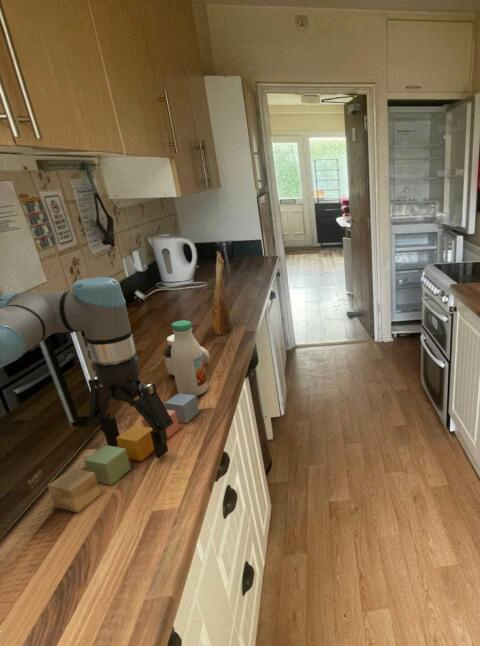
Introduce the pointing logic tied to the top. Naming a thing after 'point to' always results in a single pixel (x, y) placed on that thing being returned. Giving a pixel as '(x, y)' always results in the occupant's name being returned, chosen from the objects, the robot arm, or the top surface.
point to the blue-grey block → (183, 406)
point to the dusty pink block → (169, 430)
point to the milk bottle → (187, 360)
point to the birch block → (74, 490)
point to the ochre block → (136, 442)
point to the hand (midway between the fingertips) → (138, 449)
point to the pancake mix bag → (220, 301)
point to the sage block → (108, 464)
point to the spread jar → (168, 355)
